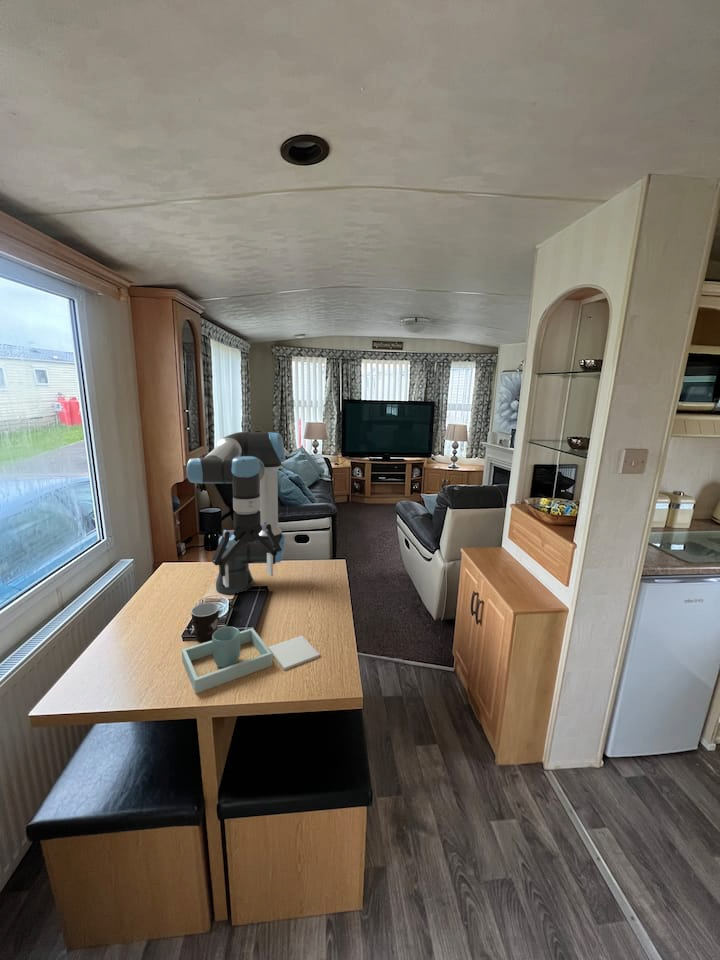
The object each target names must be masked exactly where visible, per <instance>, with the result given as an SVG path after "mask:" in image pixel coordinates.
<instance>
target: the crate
mask: <svg viewBox="0 0 720 960" xmlns="http://www.w3.org/2000/svg"><path fill="white" fill-rule="evenodd" d="M247 643H252V644H253V646H254V647H255V649H256V650H257V651H258V653H259V654H260V655H257V656H255V657H252V658H249V659H246V660H243V661H240V662H238V663H236V664H234V665H231V666H228V667H226V668H220V669H217V670H214V671H211V672H209V673H206V674H203V675H201V676H198V675H197V672H196V671H195V670H196V669H195V668H194V666H193V663H192V661H194V660H197V659H198V660H199V659H201V658H204V657H207V656H210V655H213V650H212V641H208V642H201V643H199V644H196V645H193V646H189V647H186V648H183V649H181V658H182V659H181V661H182V664H183V666H184V670H185V671H186V673H187V676H188V678H189V679H188V680H189V681H190V684H191V686H192V689H193V691H194V694H195V695H196V694H198V693H202V692H204V691H206V690H210V689H212V688H215V687H218V686H220V685H223V684H226V683H228V682H231V681H233V680H236V679H239V678H242V677H245V676H247V675H251V674H252V673H253V674H254V673H255V672H258V671H260V670H263V669H265V668H269V667H271V666H273V655H272V653H271V651H270V650H269V649H268V647H269V646H267V645H266V643H265V642H264V640H263V639H262V638H261V637H260V635H259V634H258V632H256V630H255V629H254V627H251V628H248V629H244V630H241V631H240V646H241V645H244V644H247Z"/></svg>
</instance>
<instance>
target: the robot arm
mask: <svg viewBox="0 0 720 960" xmlns="http://www.w3.org/2000/svg"><path fill="white" fill-rule="evenodd" d="M285 452H286V451H285V445H284V440H283V436H282V434H280V433H278V432H270V431H266V432H265V431H260V432H258V431H257V432H256V431H248V432H247V431H239V432H234V433H232V434H229V435H226V436H224V437H223V438H221V439H220V440H218V441H217V443H216V445H215V447H214V448H213V449H212V450H211V451H210V452H209V453H208V454H206V455H205V456H204V457H202V458H201V457H197V458H189V460H188V461H187V464H186V477H187V480H188V482H189V483H191V484H192V483H193V484H200V485H201V484H232V509H233V511H234V512H233V517H232V518H233V528H232V529H231V530H230V529H228V530H227V529H223V530H222V534H221V536H219V538H218V544H217V545H218V546H217V548H216V550H215V553H214V554H213V557H212V559H211V562H212V564H214V565H215V566H218V574H217V578H216V580H215V590H216V591H217V592H218V593H220V594H224V595H236V594H235V593H236V592H243V591H245V590H247V589H249V588H251V587H252V588H253V587H254V577H253V576H252V572H251V570H250V566H249V565H250V564H266V573H267V574H268V575H269V576H270V577H273V576H274V565H275V564H279V563H280V562H281V561H282V560H283V556H284V549H285V542H286V534H283V531H282V529H281V528H280V527H279V502H278V501H279V499H278V497H279V495H278V494H279V490H278V489H279V488H278V487H279V486H278V485H279V484H278V483H279V482H278V479H279V478H278V472H279V471H278V470H279V469H280V468H281V467H282V463H284V462H285V461H286V455H285V454H286V453H285ZM252 588H251V589H252ZM243 593H244V592H243Z"/></svg>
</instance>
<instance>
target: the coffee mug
mask: <svg viewBox="0 0 720 960" xmlns="http://www.w3.org/2000/svg"><path fill="white" fill-rule="evenodd" d="M190 612H191V613H190V614H191V617H192V621H190V623H189V624H188V626H187V633H188V634H189V635H191V636H195V638H196V641H197V642H199V643H205V642H208V641H212V635H213V633H214V632H215V631H216V630H218V626H219V616H220V615H219V613H220V605H219V604H217V603H216V602H203V603H200V604H197V605H196V606H193V607H192V609H191V610H190ZM192 625H193V629H194V632H195V633H194V632H191V631H190V629H191V627H192Z"/></svg>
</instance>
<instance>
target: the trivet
mask: <svg viewBox="0 0 720 960" xmlns="http://www.w3.org/2000/svg"><path fill="white" fill-rule="evenodd" d="M267 647H268V649H269V650H270V651H271V653H272V657H273V658H274V659H275V660H276V662H277V663H278V664H279V666H280V667H281V668H282V670H283V671H286V670H288V669H291V668H294V667H296V666H299V665H302V664H304V663H307V662H309V661H311V660H314V659H317V658H320V655H321V654H320V653H319V652H318V651H317V650H316V649H315V647H314V646H313V645H311V643H310V642H309V641H308V640H307V639H306V638H305V637H304V636H303V635H299V636H296V637H294V638H290V639H287V640H285V641H282V642H279V643H277V644H273V645H271V646H270V645H269V646H267Z"/></svg>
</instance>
